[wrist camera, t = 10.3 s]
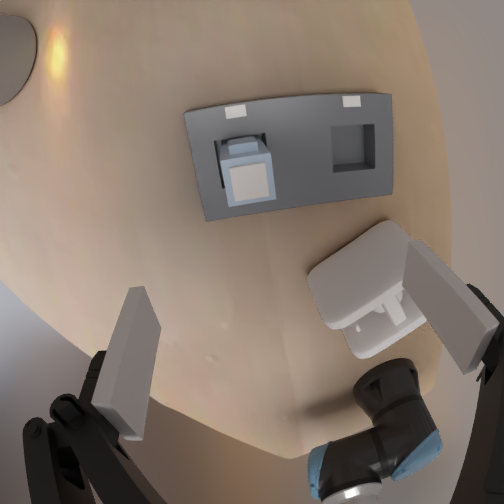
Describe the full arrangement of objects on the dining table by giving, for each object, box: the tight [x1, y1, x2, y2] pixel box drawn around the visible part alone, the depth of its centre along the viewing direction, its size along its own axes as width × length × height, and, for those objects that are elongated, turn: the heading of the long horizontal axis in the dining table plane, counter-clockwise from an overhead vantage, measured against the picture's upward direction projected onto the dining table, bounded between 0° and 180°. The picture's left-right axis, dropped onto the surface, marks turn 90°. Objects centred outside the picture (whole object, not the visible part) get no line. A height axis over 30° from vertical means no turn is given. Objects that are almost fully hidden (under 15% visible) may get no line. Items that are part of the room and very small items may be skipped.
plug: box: [220, 135, 276, 207], centre depth 28 cm, size 5×4×11 cm
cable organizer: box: [307, 220, 427, 359], centre depth 38 cm, size 15×11×12 cm
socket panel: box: [184, 92, 393, 222], centre depth 32 cm, size 12×22×4 cm, turn 98°
